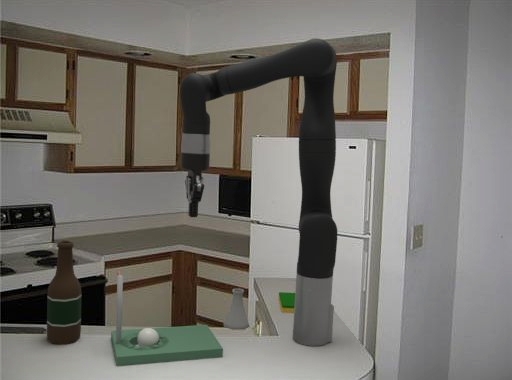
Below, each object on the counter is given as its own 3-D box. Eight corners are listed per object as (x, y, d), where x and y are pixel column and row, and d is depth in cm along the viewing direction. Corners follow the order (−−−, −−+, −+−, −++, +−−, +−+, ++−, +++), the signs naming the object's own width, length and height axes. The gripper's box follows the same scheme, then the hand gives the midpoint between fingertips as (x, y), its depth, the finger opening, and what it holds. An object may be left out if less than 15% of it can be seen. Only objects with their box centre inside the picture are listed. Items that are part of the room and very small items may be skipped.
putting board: (206, 332, 145) (209, 264, 143) (222, 356, 130) (226, 281, 128) (111, 338, 138) (112, 267, 136) (116, 365, 123) (118, 285, 121)
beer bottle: (87, 337, 138) (89, 241, 135) (64, 347, 131) (65, 246, 128) (63, 330, 141) (64, 237, 139) (39, 340, 134) (40, 242, 131)
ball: (135, 326, 134) (136, 346, 134) (138, 333, 129) (138, 354, 130) (156, 323, 135) (157, 343, 136) (159, 330, 131) (160, 351, 131)
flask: (246, 332, 147) (248, 295, 146) (219, 329, 148) (221, 292, 147) (252, 323, 154) (253, 287, 153) (226, 320, 155) (228, 285, 154)
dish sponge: (281, 313, 165) (282, 305, 164) (278, 299, 178) (278, 291, 178) (305, 314, 165) (306, 306, 165) (300, 300, 179) (301, 292, 178)
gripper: (215, 153, 142) (212, 221, 144) (203, 150, 154) (201, 212, 156) (186, 152, 139) (183, 221, 141) (176, 149, 152) (174, 212, 154)
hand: (192, 216), depth 149 cm, fingers closed
